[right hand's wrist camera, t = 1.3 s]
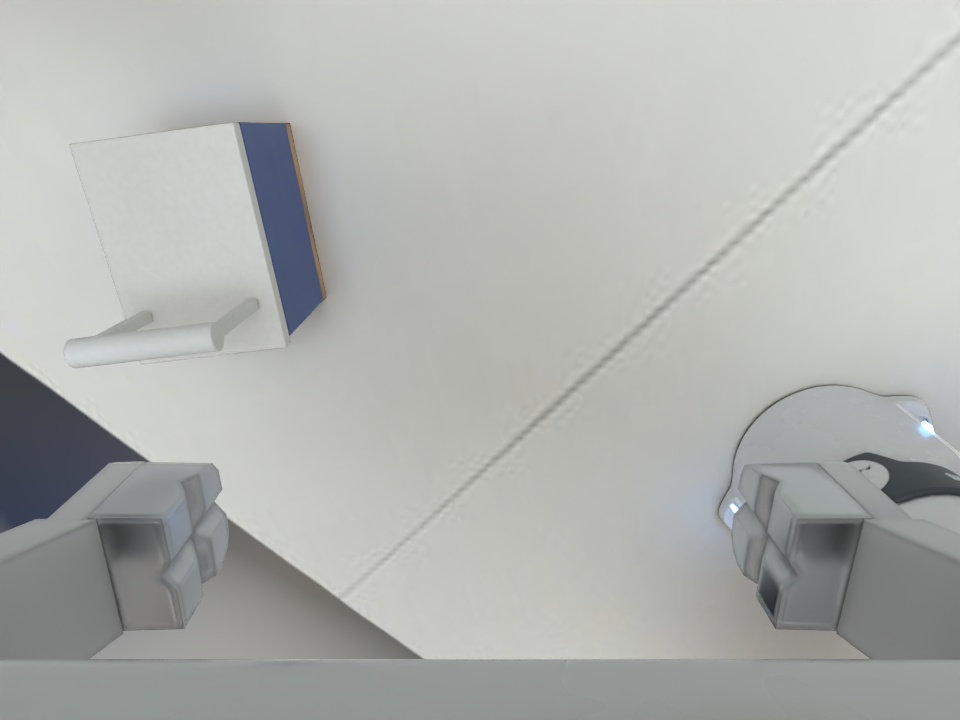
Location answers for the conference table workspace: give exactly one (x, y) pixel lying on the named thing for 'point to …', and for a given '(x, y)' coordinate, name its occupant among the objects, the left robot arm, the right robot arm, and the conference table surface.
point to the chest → (284, 218)
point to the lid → (179, 248)
